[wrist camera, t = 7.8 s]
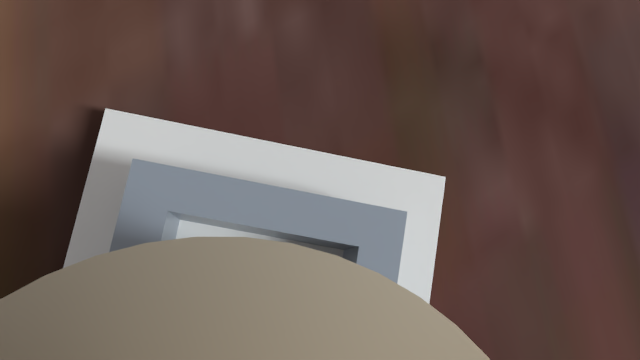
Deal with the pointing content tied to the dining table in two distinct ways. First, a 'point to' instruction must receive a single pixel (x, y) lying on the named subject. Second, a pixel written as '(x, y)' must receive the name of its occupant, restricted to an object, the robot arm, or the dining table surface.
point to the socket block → (254, 198)
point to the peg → (223, 308)
